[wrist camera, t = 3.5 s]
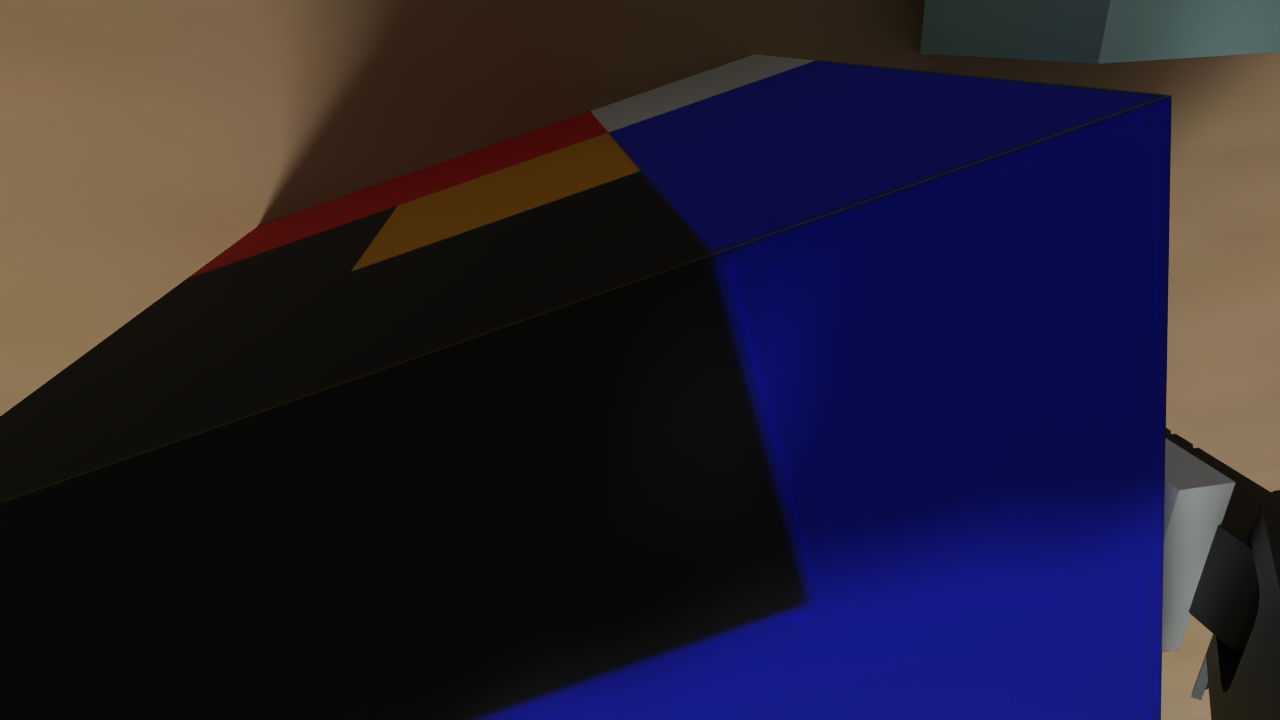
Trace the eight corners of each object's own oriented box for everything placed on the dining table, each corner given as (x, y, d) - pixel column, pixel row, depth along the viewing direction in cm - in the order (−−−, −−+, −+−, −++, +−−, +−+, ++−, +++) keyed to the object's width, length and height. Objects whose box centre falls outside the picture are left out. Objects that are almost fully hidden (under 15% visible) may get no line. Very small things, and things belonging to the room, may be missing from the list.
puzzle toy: (753, 53, 14) (1171, 95, 5) (844, 466, 18) (1157, 888, 9) (259, 225, 14) (-219, 580, 5) (467, 598, 18) (413, 1151, 9)
